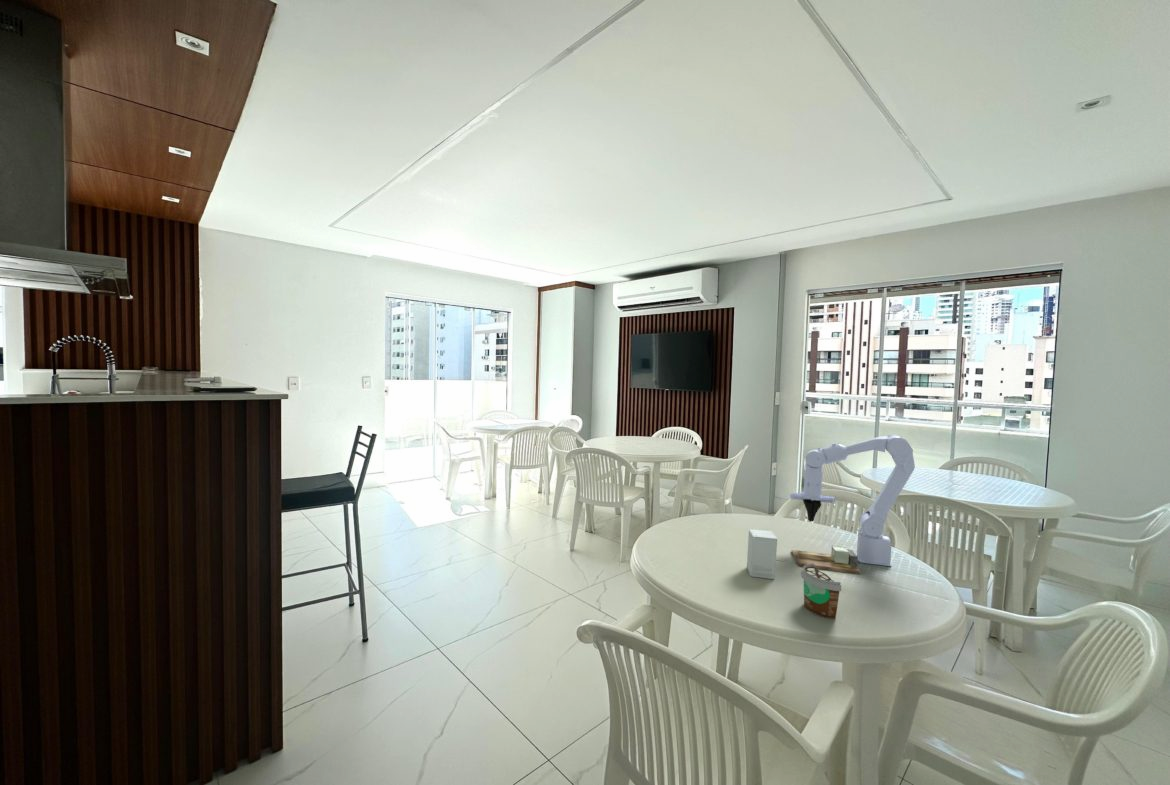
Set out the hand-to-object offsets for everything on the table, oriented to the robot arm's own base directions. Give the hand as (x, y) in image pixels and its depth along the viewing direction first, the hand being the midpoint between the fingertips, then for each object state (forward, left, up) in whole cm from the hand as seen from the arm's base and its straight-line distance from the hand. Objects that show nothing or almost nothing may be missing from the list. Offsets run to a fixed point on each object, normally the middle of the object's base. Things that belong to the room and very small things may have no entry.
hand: (810, 520), depth 162 cm
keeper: (-7, +12, -9) cm, 16 cm away
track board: (-2, +12, -10) cm, 16 cm away
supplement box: (+20, +28, -11) cm, 36 cm away
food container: (+9, +47, -11) cm, 49 cm away
